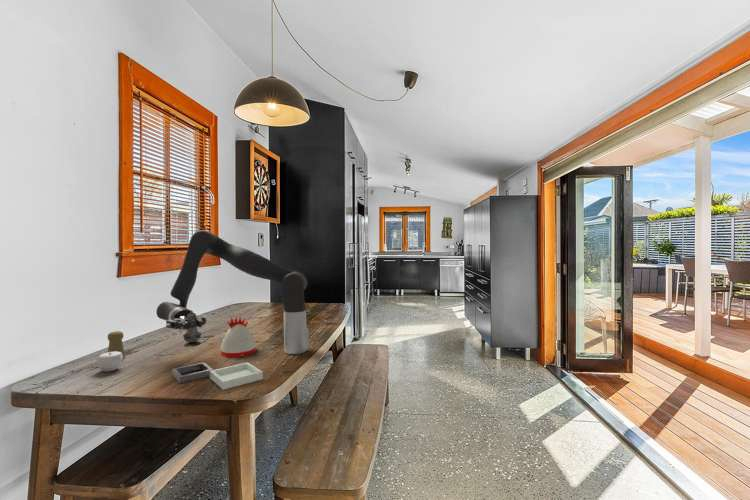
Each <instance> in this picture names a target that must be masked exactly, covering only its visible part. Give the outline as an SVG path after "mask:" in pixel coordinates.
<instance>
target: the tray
mask: <svg viewBox="0 0 750 500" xmlns="http://www.w3.org/2000/svg"><path fill="white" fill-rule="evenodd" d="M263 373H264V371H262V370H261V369H259V368H258V367H256V366H254V365H253V364H252V363H249V362H243V363H238V364H234V365H231V366H224V367H222V368H221V367H220V368H216V369H213V370H212V371H210V376H209V379H210V380H212V382H213V383H215V384H216V385H217V386H218V387H219V388H220V389H222V390H223V391H224V390H227V389H231V388H234V387H238V386H239V387H240V386H241V385H246V384H250V383H253V382H256V381H257V382H258V381H261V380H263V379H264V374H263Z"/></svg>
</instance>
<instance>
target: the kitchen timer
mask: <svg viewBox="0 0 750 500" xmlns="http://www.w3.org/2000/svg"><path fill="white" fill-rule="evenodd" d="M238 318H239V319H238ZM238 318H237V316H236V317H235V319H233V318H232V317H230V322H229V321H227V324H228V325H229V327H230V328H228V330H227V331H226V333H225V334H224V335H223V336H222V337H223V339H222V342H221V346H220V355H221V356H222V355H223V356H222V357H225V356H228V358H231V357H232V358H236V357H238V358H239V357H245V356H249V355H251V353H252V354H254V353H255V352H256V351H257V345H256V340H255V337H254V334H253V332H251V329H249V328H248V326H247V325H248V323H249V321H248V320H247V321H246V322H245V319H246V318H243V319H241V316H239V317H238ZM248 354H249V355H248Z"/></svg>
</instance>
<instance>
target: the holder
mask: <svg viewBox="0 0 750 500" xmlns="http://www.w3.org/2000/svg"><path fill="white" fill-rule="evenodd" d="M197 370H198V371H197ZM200 370H201V371H200ZM212 370H214V369H213V368H212V367H211V366H210V365H208V364H207V363H206V362H199V363H194V364H188V365H184V366H179V367H176V368H175V367H174V368H172V369H171V371H172V372H171V374H172V377H174V379H176V381H177V382H178V383H179V384H182V383H186V382H190V381H194V380H199V379H202V378H203V379H204V378H208V377H210V371H212ZM190 372H192V373H190ZM186 373H187V374H186ZM182 374H184V375H182Z"/></svg>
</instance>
